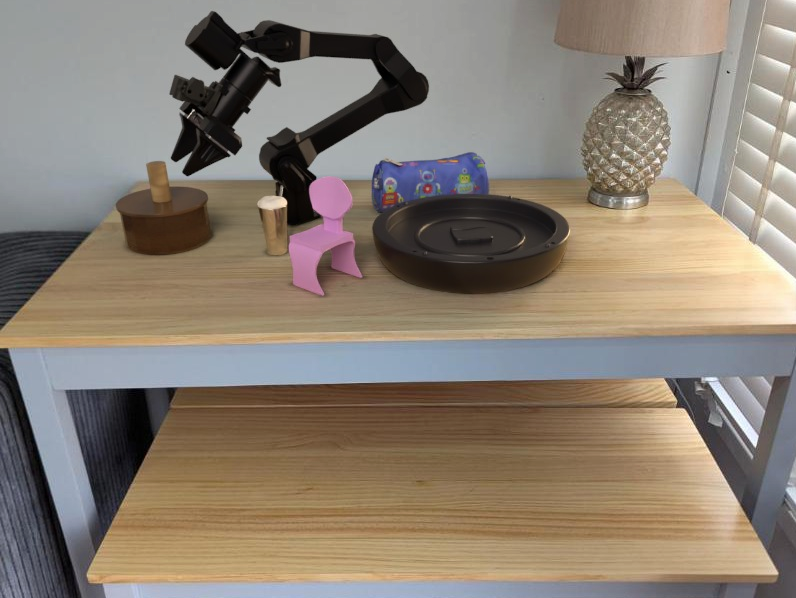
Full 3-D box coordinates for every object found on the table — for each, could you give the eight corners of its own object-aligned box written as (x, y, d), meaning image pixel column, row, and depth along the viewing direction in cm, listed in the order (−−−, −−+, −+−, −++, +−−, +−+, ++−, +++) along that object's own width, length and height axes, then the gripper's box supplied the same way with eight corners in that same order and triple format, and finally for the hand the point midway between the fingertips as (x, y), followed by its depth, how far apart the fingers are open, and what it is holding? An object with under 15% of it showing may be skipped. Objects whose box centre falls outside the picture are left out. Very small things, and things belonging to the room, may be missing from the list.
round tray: (363, 231, 132) (387, 307, 106) (362, 197, 129) (386, 266, 103) (533, 219, 136) (596, 289, 110) (535, 185, 133) (600, 250, 107)
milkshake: (299, 247, 126) (294, 187, 121) (281, 258, 122) (275, 197, 117) (276, 243, 128) (269, 183, 123) (257, 254, 124) (250, 193, 119)
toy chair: (285, 284, 114) (275, 183, 106) (328, 265, 119) (321, 169, 112) (325, 299, 109) (318, 195, 101) (367, 279, 115) (363, 179, 107)
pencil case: (375, 220, 137) (373, 166, 132) (366, 205, 144) (363, 153, 139) (493, 208, 141) (495, 156, 137) (478, 194, 149) (480, 144, 144)
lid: (214, 191, 134) (208, 150, 130) (201, 219, 121) (194, 175, 118) (129, 194, 133) (120, 152, 130) (106, 223, 121) (96, 178, 117)
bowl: (216, 224, 136) (210, 188, 133) (203, 253, 125) (197, 215, 121) (137, 227, 136) (130, 191, 133) (117, 256, 124) (109, 218, 121)
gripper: (183, 47, 127) (126, 123, 128) (210, 63, 112) (146, 149, 113) (236, 92, 133) (182, 164, 135) (268, 113, 119) (207, 194, 120)
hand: (178, 167), depth 126 cm, fingers open, 9 cm apart
